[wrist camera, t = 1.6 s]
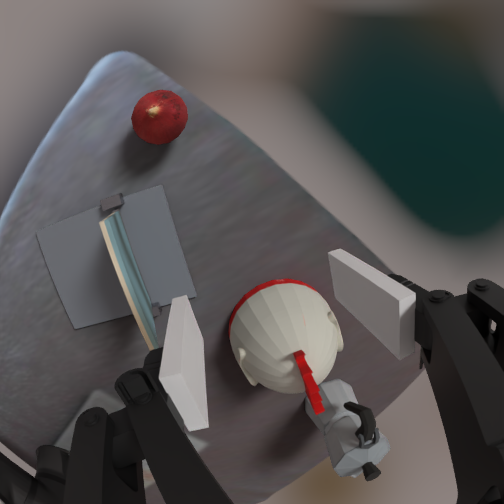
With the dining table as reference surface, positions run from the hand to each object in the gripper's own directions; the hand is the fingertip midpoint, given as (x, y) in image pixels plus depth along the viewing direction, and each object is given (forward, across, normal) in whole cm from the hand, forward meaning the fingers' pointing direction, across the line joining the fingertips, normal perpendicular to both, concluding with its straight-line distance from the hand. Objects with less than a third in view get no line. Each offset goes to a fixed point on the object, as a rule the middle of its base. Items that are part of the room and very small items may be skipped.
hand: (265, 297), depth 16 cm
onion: (+21, -4, +14) cm, 26 cm away
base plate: (+21, -15, 0) cm, 26 cm away
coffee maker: (+21, +8, -31) cm, 38 cm away
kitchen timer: (+21, +3, -15) cm, 26 cm away
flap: (+20, -12, 0) cm, 23 cm away
